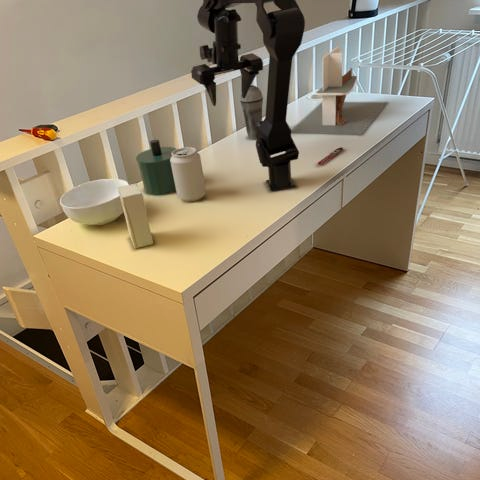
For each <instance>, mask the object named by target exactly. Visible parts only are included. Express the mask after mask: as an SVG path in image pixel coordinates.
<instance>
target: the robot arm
mask: <svg viewBox="0 0 480 480" xmlns="http://www.w3.org/2000/svg"><path fill="white" fill-rule="evenodd" d="M269 3H273V4H274V5H275V7H277V8H278V10H273V11H269V12H267V10H266V9H265V7H264V6H265V4H269ZM242 4H254V5H255V7H256V18H255V19H256V20H255V21H256V23H257V25H258V27H259V29H260V31H261V33H262V42H263V45H264V47H265V49H266V51H267V52H268V53H267V54H269V55H268V56H269V60H268V75H267V88H266V90H267V91H266V101H265V103H266V104H265V117H264V119H263V120H262V121H260V122H258V123H257V125H256V136H255V138H257V139H255V150H256V152H257V156H258V160H259V164H261V167H263V168H267V171H268V179H267V180H265V183H266V185H267V187H268V189H269V191H270V192H274V191H280V190H286V189H292V188H295V187H296V184H295V182H294V180H293V178H292V165H291V163H292V162H291V161H295V160H298V159H299V156H300V155H299V154H300V150H299V149H298V147H297V145H296V143H295V141H294V139H293V138H292V137H293V136H292V133H291V131H292V129H291V127H290V125H289V123H288V122H287V113H288V103H289V95H290V94H289V93H290V86H291V85H290V84H291V76H292V75H291V74H292V65H293V58H294V56H295V54H296V53H297V51H298V49H299V48H300V47H301V44H302V42H303V37H304V33H305V27H306V20H305V19H306V18H305V16H304V14H303V12H302V10H301V8H300V6H299V5H298V3H297V1H296V0H203V1H202V5H201V6H200V8H199V9H198V12H197V15H196V18H197V22H198V24H199V26H201V27H202V28H203V29H205V30H207V31H209V32H210V33H212V34H214V38H215V39H214V41H212V47H209V45H208V44H204V45H200V46H199V57H200V59H201V60H202V61H203V60H204V61H205V60H206V61H207V63H211V64H213V65H216V66H213V67H211V66H209V65H207V64H206V63H203V64H198V65H195V66H193V67H192V68H191V71H190V72H191V73H190V74H191V78H192V79H193V80H194V81H196V82H197V84H198V83H199V84H200V85H203V86H204V88H205V90H206V93H207V94H208V97H209V99H210V102H211V105H212V106H214V107H216V105H217V82H215V80H216V76H218V75H222V74H226V73H232V72H235V71H238V70H239V72H240V76H241V77H240V78H241V84H240V85H241V87H240V89H241V90H240V91H241V93H242V98H245V97H246V95H247V92H248V90H249V88H250V86H251V85H253V82H254V80H255V78H256V77H257V76H258V75H260V71H264V60H263V58H262V57H260V56H258V55H256V54H255V53H253V52H251V53H247V54H242V55H240V57H239V50H241V48H242V47H241V46H242V45H241V43H239V32H238V31H239V30H238V29H239V28H238V26H239V24H238V22H241V21H242V17H241V15H240V14H239V13H238V12H237V9H235V7H236V6H240V5H242ZM229 8H234V9H229Z"/></svg>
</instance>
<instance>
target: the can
mask: <svg viewBox="0 0 480 480" xmlns="http://www.w3.org/2000/svg"><path fill="white" fill-rule="evenodd" d="M197 151H198V149H197V148H196V147H191V146H185V147H179V148H176V150H174V151H173V152H172V157H171V159H170V162H171V167H172V172H173V177H174V182H175V187H176V191H175V193H176V196H177V198H178V199H180V200H181V201H183V202H186V203H187V202H188V203H189V202H195V201H199V200H201V199H202V198H203V197H204V196H205V194H207V188H206V182H205V176H204V171H203V170H204V169H203V165H202V157H201V154H200V153H199V152H197Z"/></svg>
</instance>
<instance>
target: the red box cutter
mask: <svg viewBox="0 0 480 480" xmlns="http://www.w3.org/2000/svg"><path fill="white" fill-rule="evenodd" d="M343 150H344V148H343V147H342V146H341V147H338V148H336V149H335V150H333V151H332V152H330V153H329V154H328V155H326V156H325V157H324V158H322V159H321V160H319V161H318V162H317V165H318V166H320V165H323V164H324V163H326V162H328V161H329V160H331V158H333V157H334V156H336V155H337V154H339V153H340V152H342V151H343Z"/></svg>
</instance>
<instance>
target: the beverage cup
mask: <svg viewBox="0 0 480 480" xmlns="http://www.w3.org/2000/svg"><path fill="white" fill-rule="evenodd" d="M239 102H240V106H241V109H242V112H243V113H242V114H243V118H244V125H245V129H246V134H247V138H248V140H256V139H257V138H255V136H256V125H257V123H258V122H260V121H263V103H264V97H263V93H262V91H261V90H260V88H259V87H258V86H256V85H253V84H251V86H250V88H249V90H248V92H247V95H246V97H245V98H242V92H241V94H240V100H239Z"/></svg>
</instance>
